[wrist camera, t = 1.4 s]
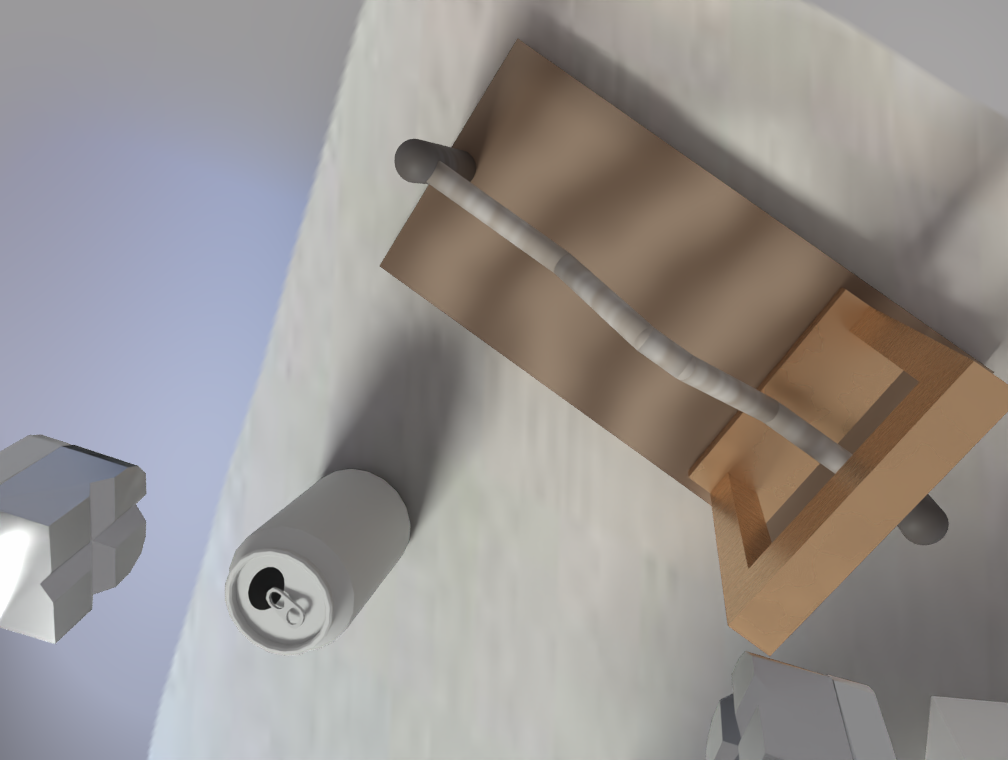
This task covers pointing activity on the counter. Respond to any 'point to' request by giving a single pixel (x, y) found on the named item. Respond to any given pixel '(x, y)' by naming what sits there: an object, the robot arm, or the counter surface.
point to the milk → (967, 729)
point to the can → (316, 562)
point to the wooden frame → (859, 482)
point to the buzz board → (626, 276)
